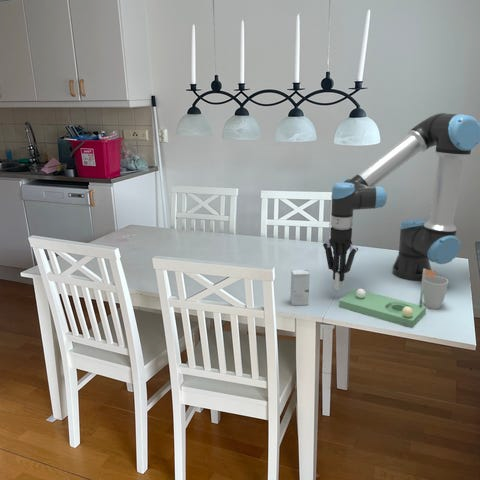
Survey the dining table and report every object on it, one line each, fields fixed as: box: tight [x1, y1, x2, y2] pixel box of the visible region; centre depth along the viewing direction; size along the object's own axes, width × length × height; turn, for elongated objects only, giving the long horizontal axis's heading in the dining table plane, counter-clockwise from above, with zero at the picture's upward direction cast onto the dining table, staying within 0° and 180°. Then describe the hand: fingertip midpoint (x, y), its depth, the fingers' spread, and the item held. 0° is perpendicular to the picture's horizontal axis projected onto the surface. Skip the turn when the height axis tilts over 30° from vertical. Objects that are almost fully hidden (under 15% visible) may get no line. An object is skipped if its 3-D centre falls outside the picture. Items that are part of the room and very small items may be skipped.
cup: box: [422, 275, 449, 310], centre depth 170 cm, size 8×8×10 cm
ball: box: [356, 288, 366, 298], centre depth 172 cm, size 3×3×3 cm
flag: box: [418, 268, 436, 308], centre depth 162 cm, size 1×4×14 cm, turn 52°
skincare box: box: [289, 269, 311, 306], centre depth 174 cm, size 6×4×12 cm
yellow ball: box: [402, 306, 413, 317], centre depth 158 cm, size 3×3×3 cm
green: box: [338, 288, 427, 328], centre depth 169 cm, size 26×13×2 cm, turn 51°
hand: (338, 288), depth 178 cm, fingers closed
